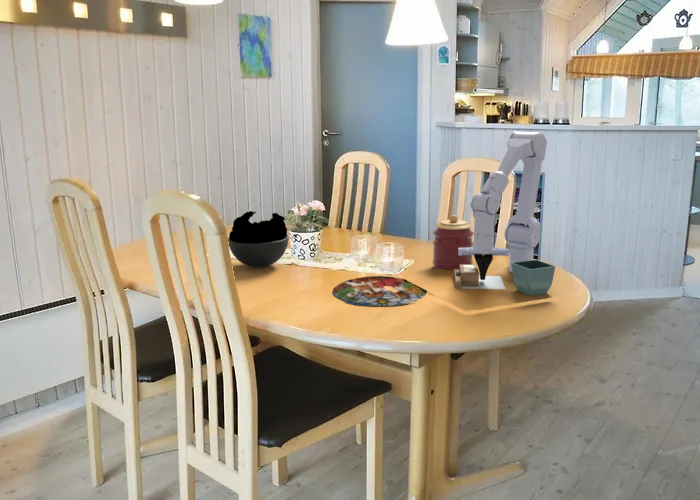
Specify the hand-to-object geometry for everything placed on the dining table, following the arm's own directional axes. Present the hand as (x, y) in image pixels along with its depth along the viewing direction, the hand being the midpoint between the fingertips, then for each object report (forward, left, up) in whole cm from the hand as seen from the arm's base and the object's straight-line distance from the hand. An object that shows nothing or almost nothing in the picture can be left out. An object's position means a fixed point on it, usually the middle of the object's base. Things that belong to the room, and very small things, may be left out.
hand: (482, 279), depth 194 cm
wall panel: (0, -1, -2) cm, 2 cm away
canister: (-20, -8, -2) cm, 22 cm away
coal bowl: (-17, -72, -2) cm, 74 cm away
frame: (0, -4, -1) cm, 4 cm away
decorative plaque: (+8, -30, -3) cm, 31 cm away
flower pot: (+9, +13, -2) cm, 16 cm away
